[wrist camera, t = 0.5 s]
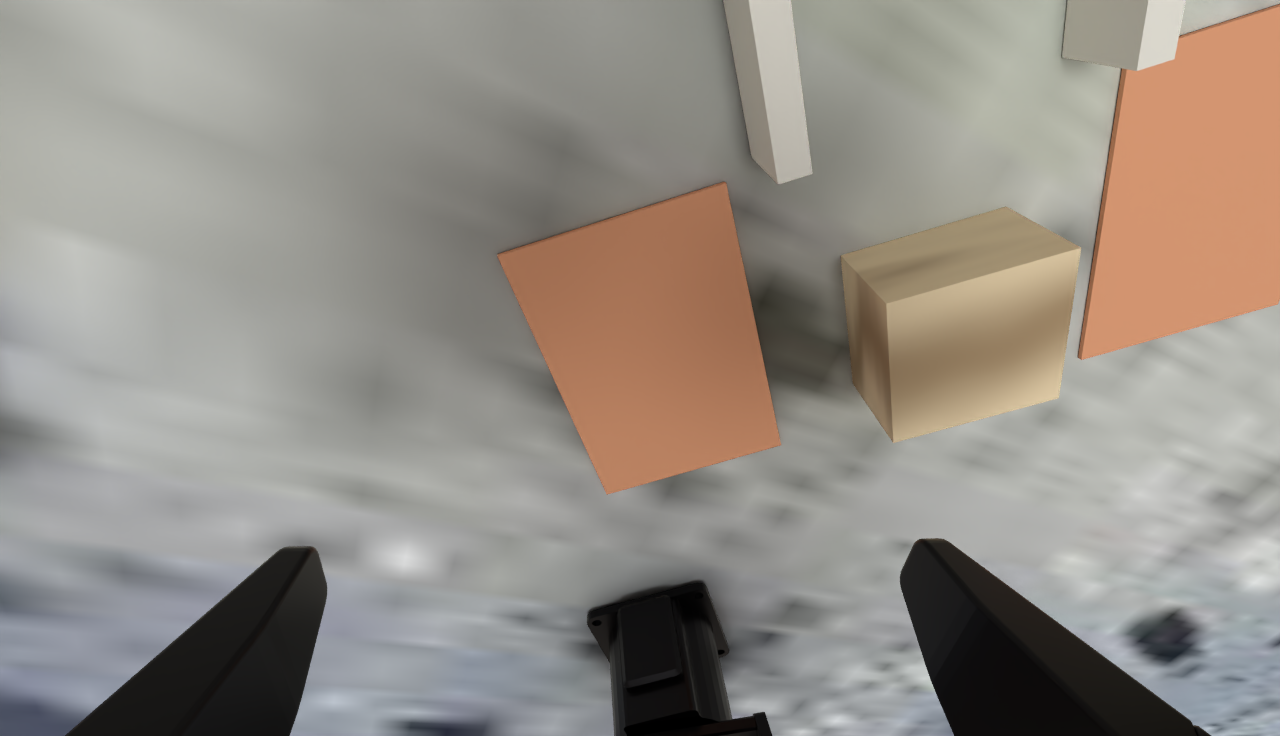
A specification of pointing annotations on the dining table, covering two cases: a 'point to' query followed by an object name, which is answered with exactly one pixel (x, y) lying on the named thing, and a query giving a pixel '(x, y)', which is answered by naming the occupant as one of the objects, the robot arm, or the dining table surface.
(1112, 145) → the mats
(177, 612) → the dining table surface
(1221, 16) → the dining table surface
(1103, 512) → the dining table surface
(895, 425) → the block
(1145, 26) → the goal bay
